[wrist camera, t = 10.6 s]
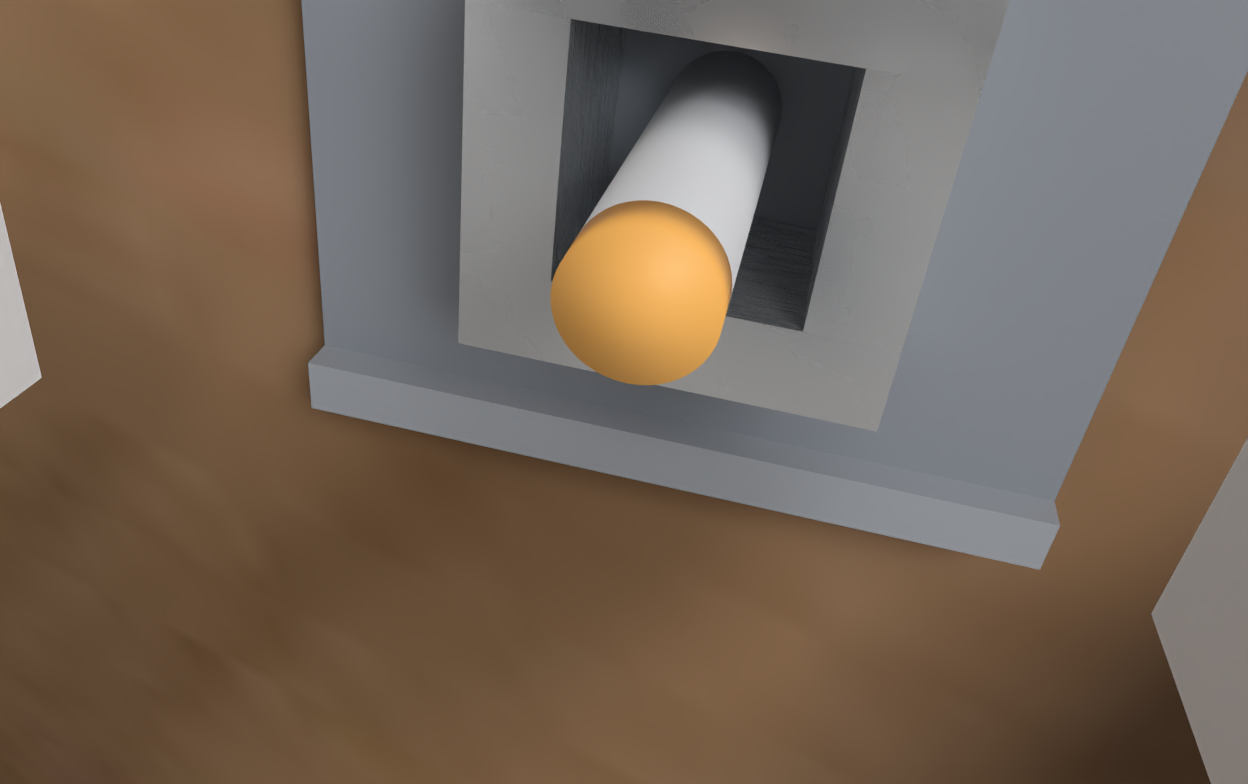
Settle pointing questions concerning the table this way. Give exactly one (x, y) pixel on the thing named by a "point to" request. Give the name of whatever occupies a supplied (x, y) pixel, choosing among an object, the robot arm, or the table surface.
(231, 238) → the table surface
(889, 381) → the square frame
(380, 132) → the keeper plate
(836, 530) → the table surface
